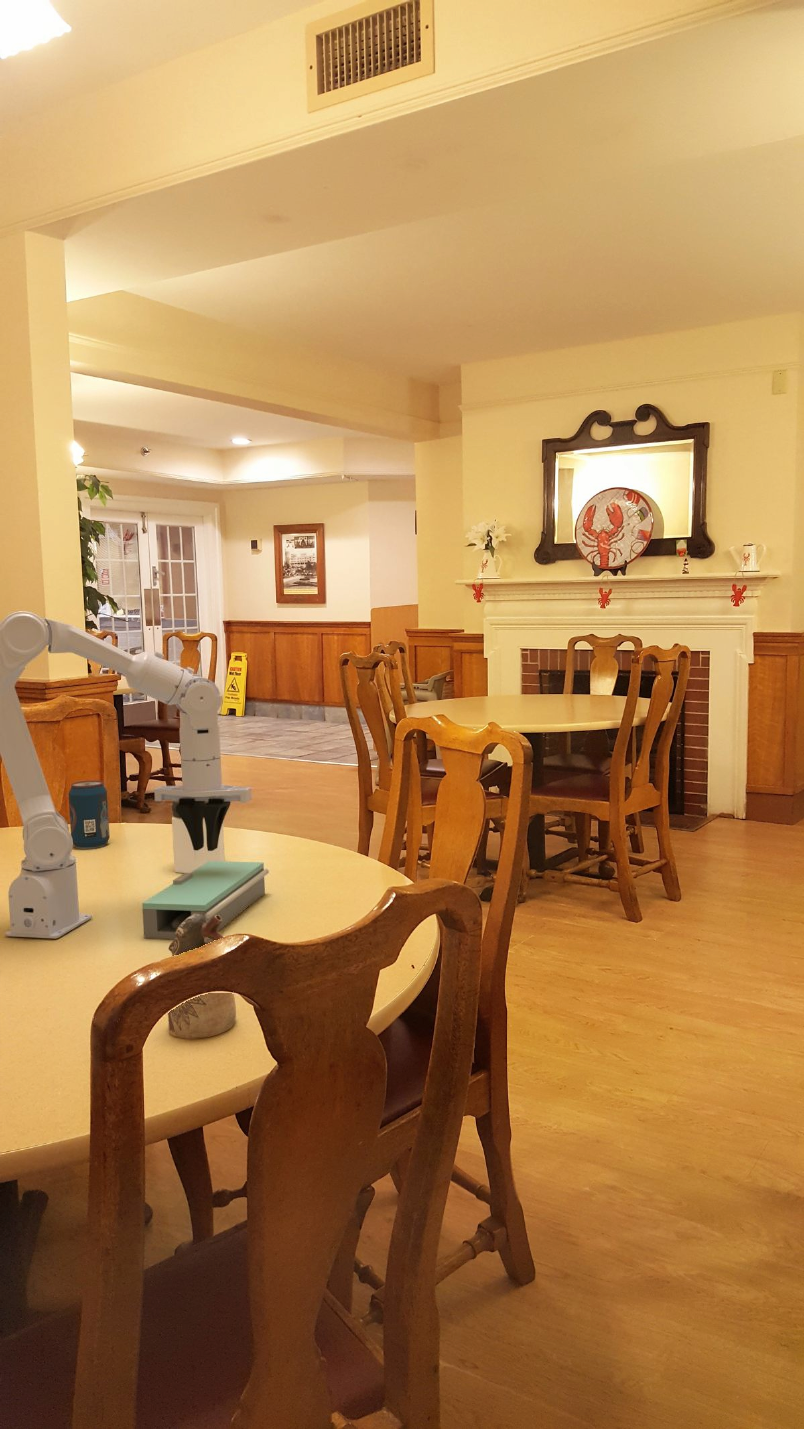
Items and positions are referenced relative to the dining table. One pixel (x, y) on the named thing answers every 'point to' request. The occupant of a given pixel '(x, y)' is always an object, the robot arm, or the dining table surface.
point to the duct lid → (203, 886)
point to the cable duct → (227, 908)
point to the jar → (183, 848)
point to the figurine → (205, 1010)
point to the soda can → (89, 814)
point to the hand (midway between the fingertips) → (205, 849)
